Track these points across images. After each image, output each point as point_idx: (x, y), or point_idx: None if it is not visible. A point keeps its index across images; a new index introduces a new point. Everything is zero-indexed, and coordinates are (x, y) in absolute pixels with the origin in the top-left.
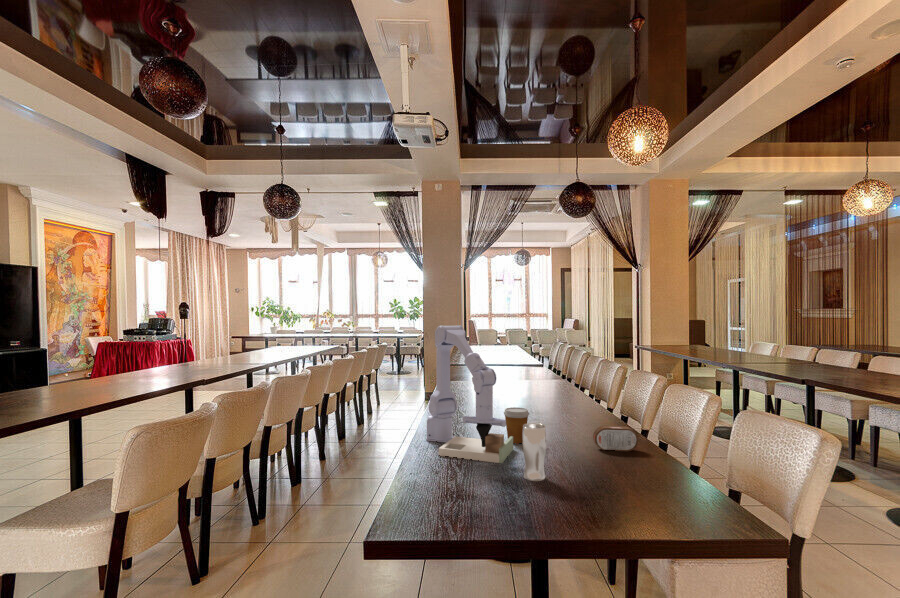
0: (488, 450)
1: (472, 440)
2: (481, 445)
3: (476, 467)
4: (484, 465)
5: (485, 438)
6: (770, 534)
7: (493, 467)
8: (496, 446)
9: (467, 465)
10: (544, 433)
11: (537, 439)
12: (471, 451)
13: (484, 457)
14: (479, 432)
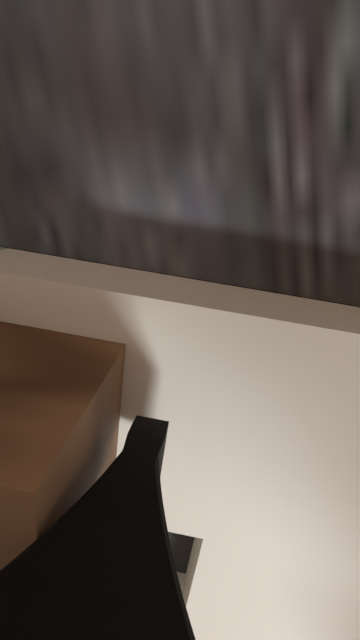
0: (81, 348)
1: (299, 628)
2: (203, 526)
3: (194, 32)
4: (120, 138)
5: (51, 463)
6: None
7: (17, 92)
8: None
9: (309, 84)
10: None
11: None
12: (291, 341)
13: (136, 280)
14: (160, 629)
